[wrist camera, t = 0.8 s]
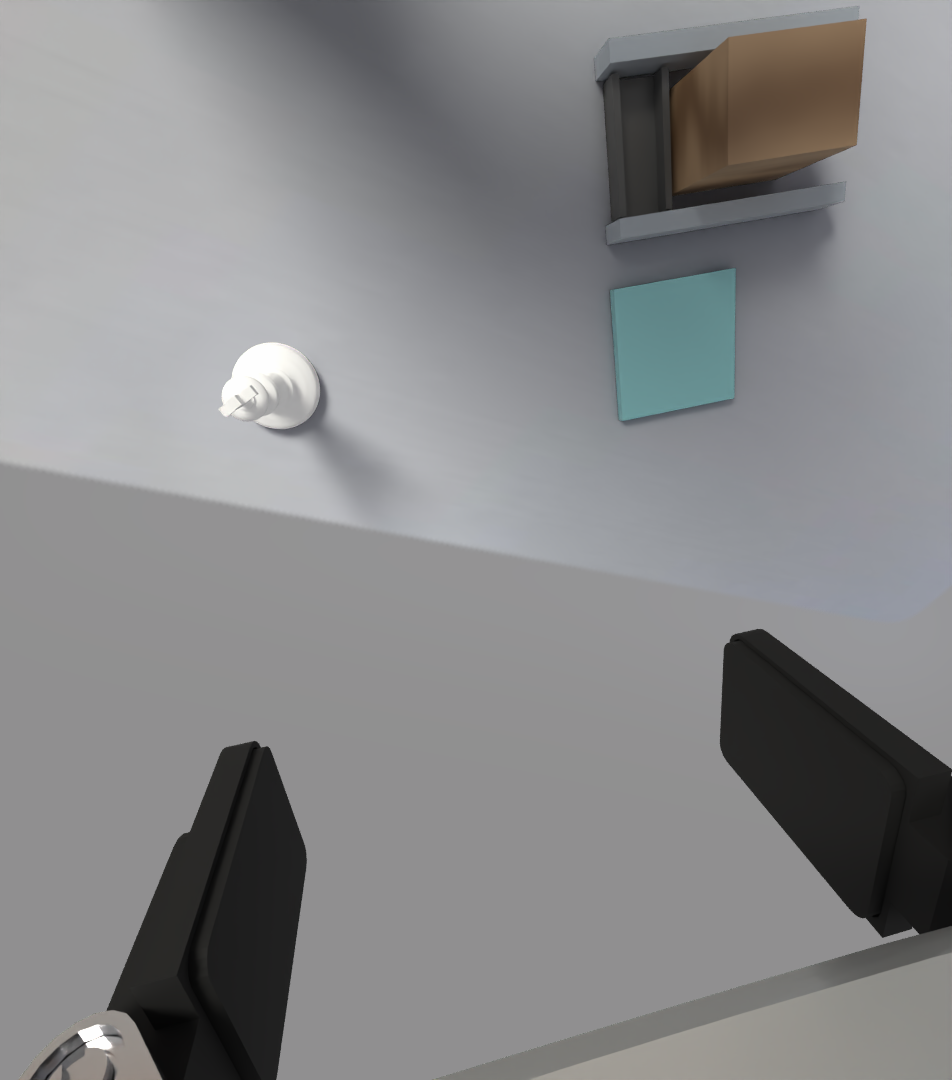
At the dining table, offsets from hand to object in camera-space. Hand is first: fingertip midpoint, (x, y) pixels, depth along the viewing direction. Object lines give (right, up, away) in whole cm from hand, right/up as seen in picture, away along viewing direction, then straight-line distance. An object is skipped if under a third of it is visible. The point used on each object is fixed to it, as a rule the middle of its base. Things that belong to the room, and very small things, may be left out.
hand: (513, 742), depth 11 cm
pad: (+12, +17, +24) cm, 32 cm away
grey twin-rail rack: (+13, +27, +20) cm, 37 cm away
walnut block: (+14, +28, +20) cm, 37 cm away
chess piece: (-13, +13, +21) cm, 28 cm away
